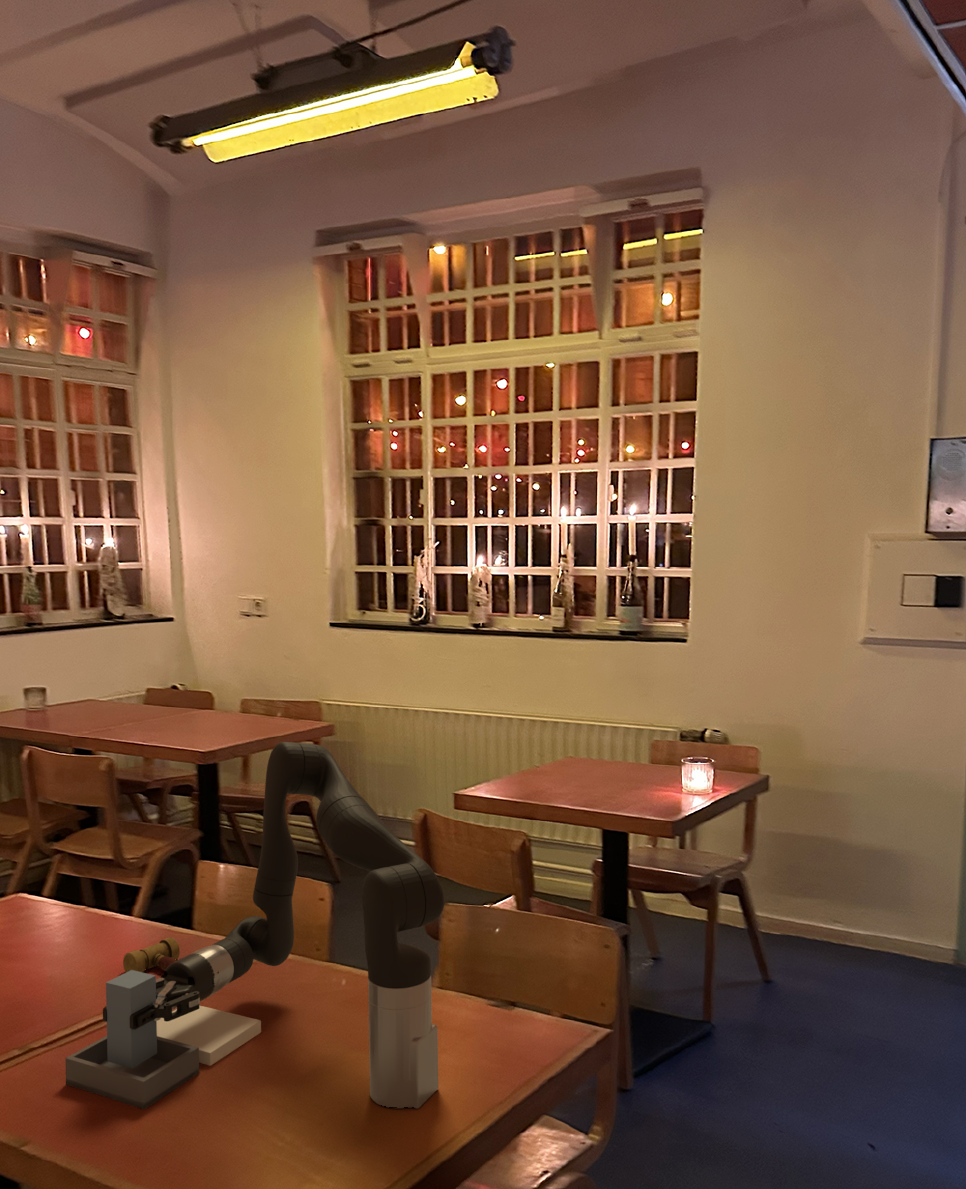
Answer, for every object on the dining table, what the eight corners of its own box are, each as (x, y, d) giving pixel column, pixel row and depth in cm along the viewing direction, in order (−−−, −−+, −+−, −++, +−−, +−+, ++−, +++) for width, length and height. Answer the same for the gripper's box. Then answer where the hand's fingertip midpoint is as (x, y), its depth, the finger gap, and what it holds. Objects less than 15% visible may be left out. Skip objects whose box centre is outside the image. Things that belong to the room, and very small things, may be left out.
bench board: (260, 1032, 159) (260, 1020, 159) (210, 1065, 148) (210, 1052, 148) (188, 1014, 166) (188, 1002, 166) (135, 1044, 155) (135, 1032, 155)
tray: (199, 1073, 146) (198, 1047, 146) (144, 1109, 136) (143, 1081, 136) (123, 1051, 153) (122, 1026, 153) (65, 1084, 143) (65, 1057, 143)
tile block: (157, 1053, 146) (155, 975, 145) (131, 1068, 141) (130, 988, 141) (133, 1046, 148) (131, 969, 148) (107, 1061, 143) (105, 982, 143)
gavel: (235, 964, 180) (191, 982, 172) (234, 987, 180) (191, 1007, 172) (166, 934, 192) (122, 950, 184) (165, 956, 193) (122, 973, 184)
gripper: (166, 945, 160) (83, 985, 145) (232, 960, 154) (152, 1003, 139) (167, 989, 160) (84, 1034, 145) (233, 1006, 154) (153, 1054, 139)
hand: (118, 1019), depth 142 cm, fingers closed on tile block, 5 cm apart
